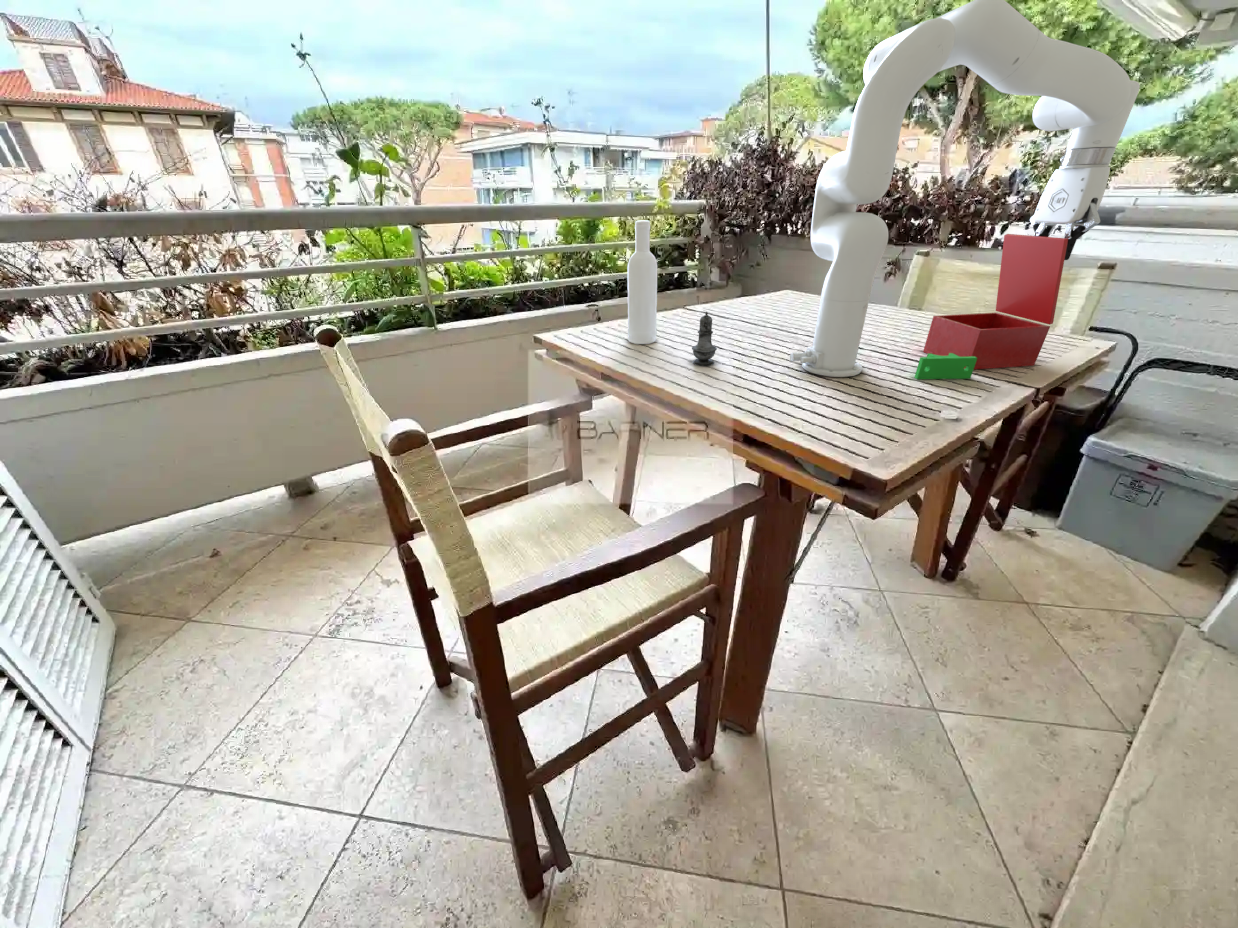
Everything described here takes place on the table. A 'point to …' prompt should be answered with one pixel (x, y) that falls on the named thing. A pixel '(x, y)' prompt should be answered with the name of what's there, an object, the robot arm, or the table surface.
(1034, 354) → the red hinged box
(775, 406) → the table surface
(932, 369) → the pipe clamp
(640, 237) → the bottle
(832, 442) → the table surface
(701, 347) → the salt shaker
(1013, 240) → the red box lid
